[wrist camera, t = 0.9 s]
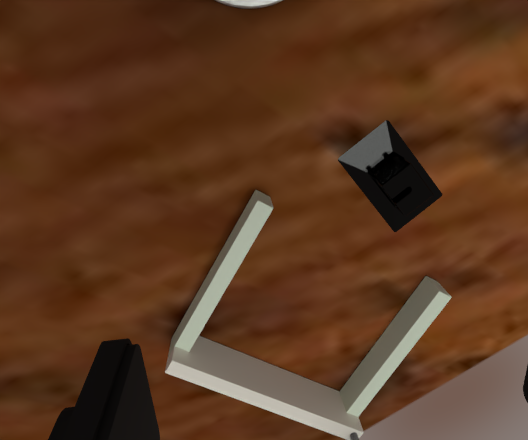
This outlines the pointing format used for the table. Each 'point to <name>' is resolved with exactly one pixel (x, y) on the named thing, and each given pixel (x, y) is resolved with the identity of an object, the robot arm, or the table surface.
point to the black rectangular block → (390, 176)
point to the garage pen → (277, 379)
